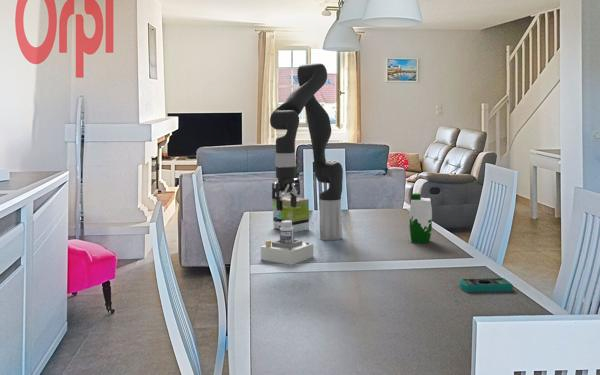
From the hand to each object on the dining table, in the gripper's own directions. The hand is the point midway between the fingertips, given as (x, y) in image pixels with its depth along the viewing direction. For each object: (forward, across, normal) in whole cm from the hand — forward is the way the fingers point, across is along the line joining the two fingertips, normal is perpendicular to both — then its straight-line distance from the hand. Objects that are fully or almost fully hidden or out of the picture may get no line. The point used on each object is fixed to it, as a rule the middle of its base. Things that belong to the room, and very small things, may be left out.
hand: (286, 208), depth 217 cm
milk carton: (+20, -53, +30) cm, 64 cm away
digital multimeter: (+20, -2, +74) cm, 76 cm away
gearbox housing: (+19, 0, 0) cm, 19 cm away
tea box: (+20, -46, -32) cm, 59 cm away
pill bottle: (+14, 0, 0) cm, 14 cm away
